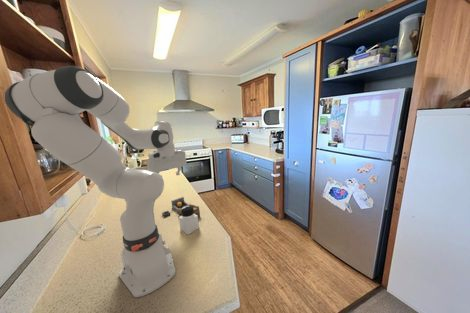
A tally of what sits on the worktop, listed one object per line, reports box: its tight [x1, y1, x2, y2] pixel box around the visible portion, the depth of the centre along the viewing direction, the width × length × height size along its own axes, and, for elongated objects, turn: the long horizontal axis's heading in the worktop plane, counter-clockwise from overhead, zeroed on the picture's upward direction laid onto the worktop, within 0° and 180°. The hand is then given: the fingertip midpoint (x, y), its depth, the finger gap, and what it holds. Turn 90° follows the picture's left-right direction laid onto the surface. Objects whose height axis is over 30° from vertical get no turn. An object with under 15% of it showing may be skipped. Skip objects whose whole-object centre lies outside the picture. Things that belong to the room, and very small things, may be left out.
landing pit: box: [170, 196, 190, 214], centre depth 113 cm, size 10×8×5 cm
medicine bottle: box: [178, 206, 200, 235], centre depth 90 cm, size 7×7×12 cm
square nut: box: [161, 210, 171, 218], centre depth 106 cm, size 4×4×2 cm
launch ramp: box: [177, 203, 201, 218], centre depth 104 cm, size 12×8×6 cm, turn 40°
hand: (169, 176), depth 97 cm, fingers open, 8 cm apart
